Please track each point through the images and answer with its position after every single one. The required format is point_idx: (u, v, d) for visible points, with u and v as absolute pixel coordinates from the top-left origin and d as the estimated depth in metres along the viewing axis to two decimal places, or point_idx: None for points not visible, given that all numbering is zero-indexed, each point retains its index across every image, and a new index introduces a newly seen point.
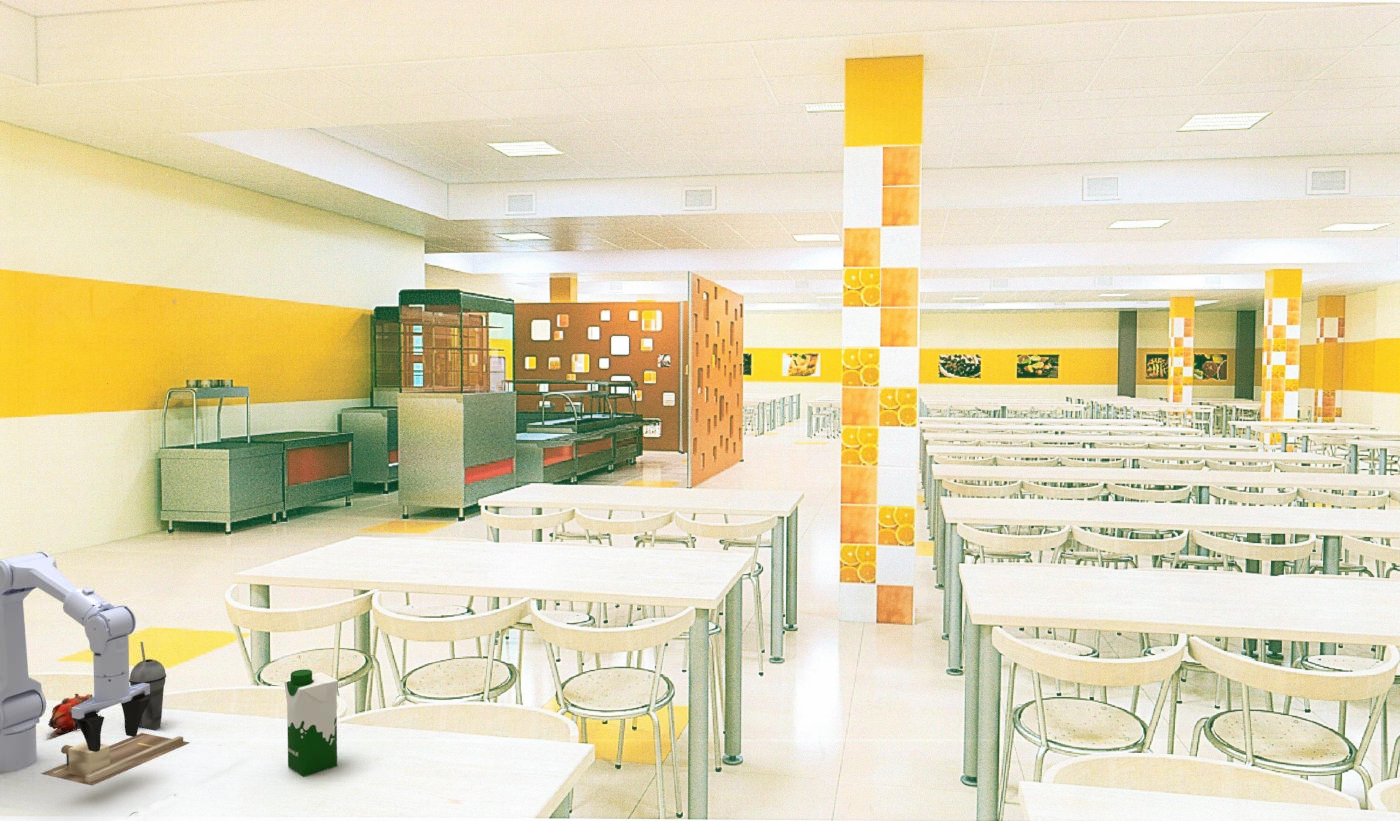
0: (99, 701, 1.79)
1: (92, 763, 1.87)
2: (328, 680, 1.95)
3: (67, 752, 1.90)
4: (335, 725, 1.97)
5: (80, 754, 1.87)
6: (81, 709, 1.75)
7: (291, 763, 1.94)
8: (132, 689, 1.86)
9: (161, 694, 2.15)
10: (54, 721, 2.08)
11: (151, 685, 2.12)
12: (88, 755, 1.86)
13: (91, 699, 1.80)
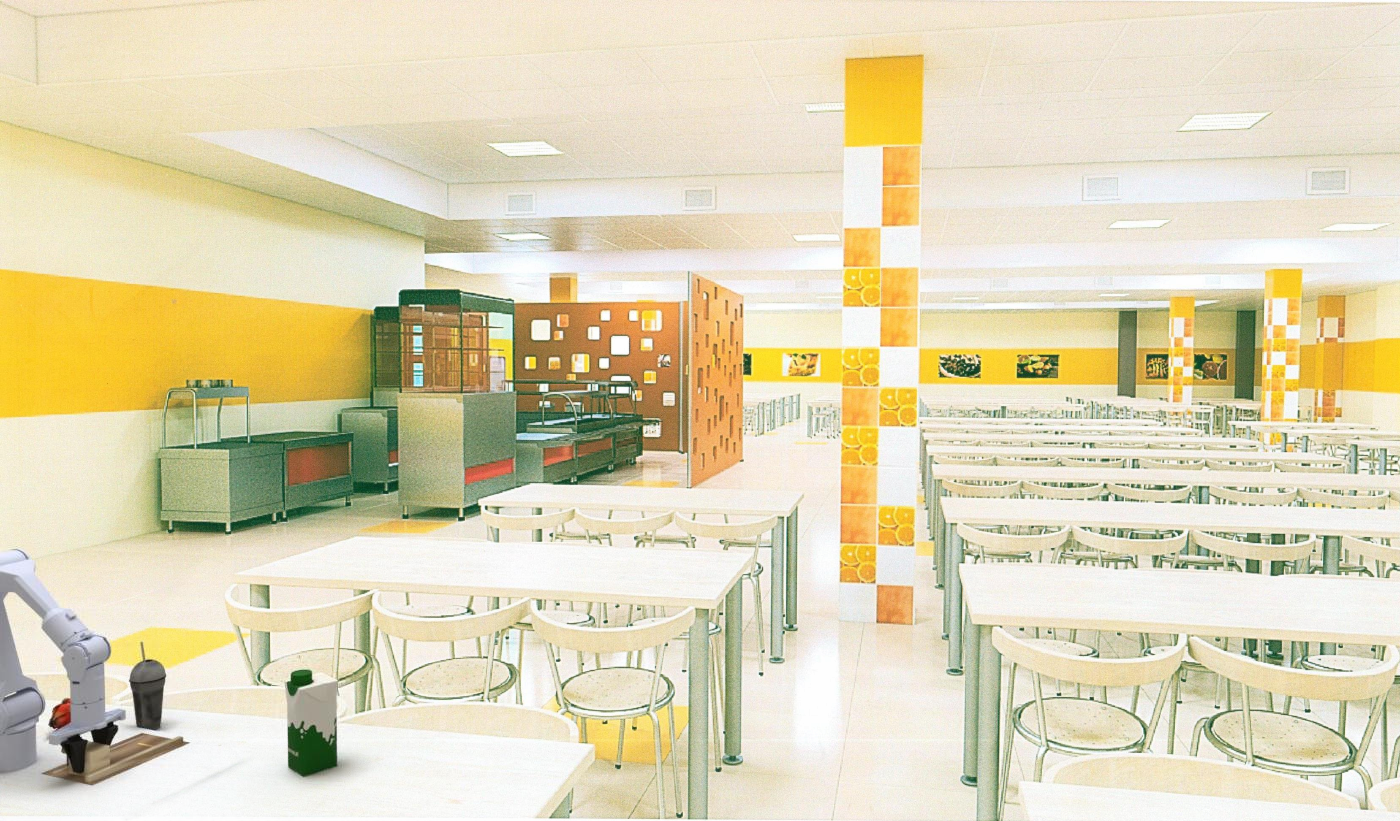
0: (75, 727, 1.86)
1: (92, 763, 1.87)
2: (328, 680, 1.95)
3: None
4: (335, 725, 1.97)
5: None
6: (58, 736, 1.82)
7: (291, 763, 1.94)
8: (108, 715, 1.93)
9: (161, 694, 2.15)
10: (54, 721, 2.08)
11: (151, 685, 2.12)
12: (88, 755, 1.86)
13: (68, 725, 1.87)
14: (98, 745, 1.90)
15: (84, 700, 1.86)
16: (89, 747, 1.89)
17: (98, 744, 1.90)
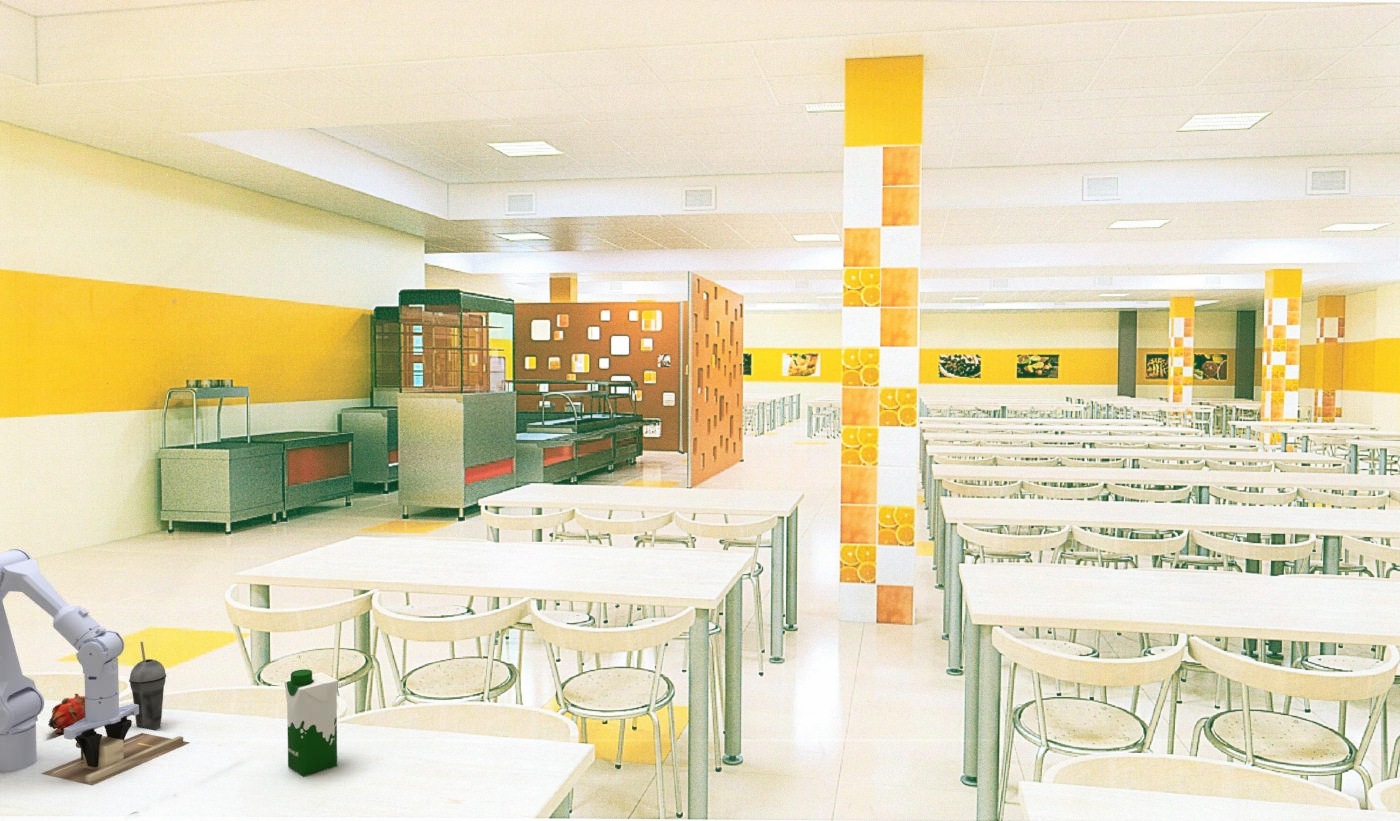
0: (90, 722, 1.89)
1: (106, 757, 1.89)
2: (328, 680, 1.95)
3: None
4: (335, 725, 1.97)
5: None
6: (73, 730, 1.85)
7: (291, 763, 1.94)
8: (122, 710, 1.95)
9: (161, 694, 2.15)
10: (54, 721, 2.08)
11: (151, 685, 2.12)
12: (103, 750, 1.89)
13: (82, 720, 1.90)
14: (112, 739, 1.92)
15: (101, 695, 1.89)
16: (103, 741, 1.91)
17: (112, 738, 1.93)
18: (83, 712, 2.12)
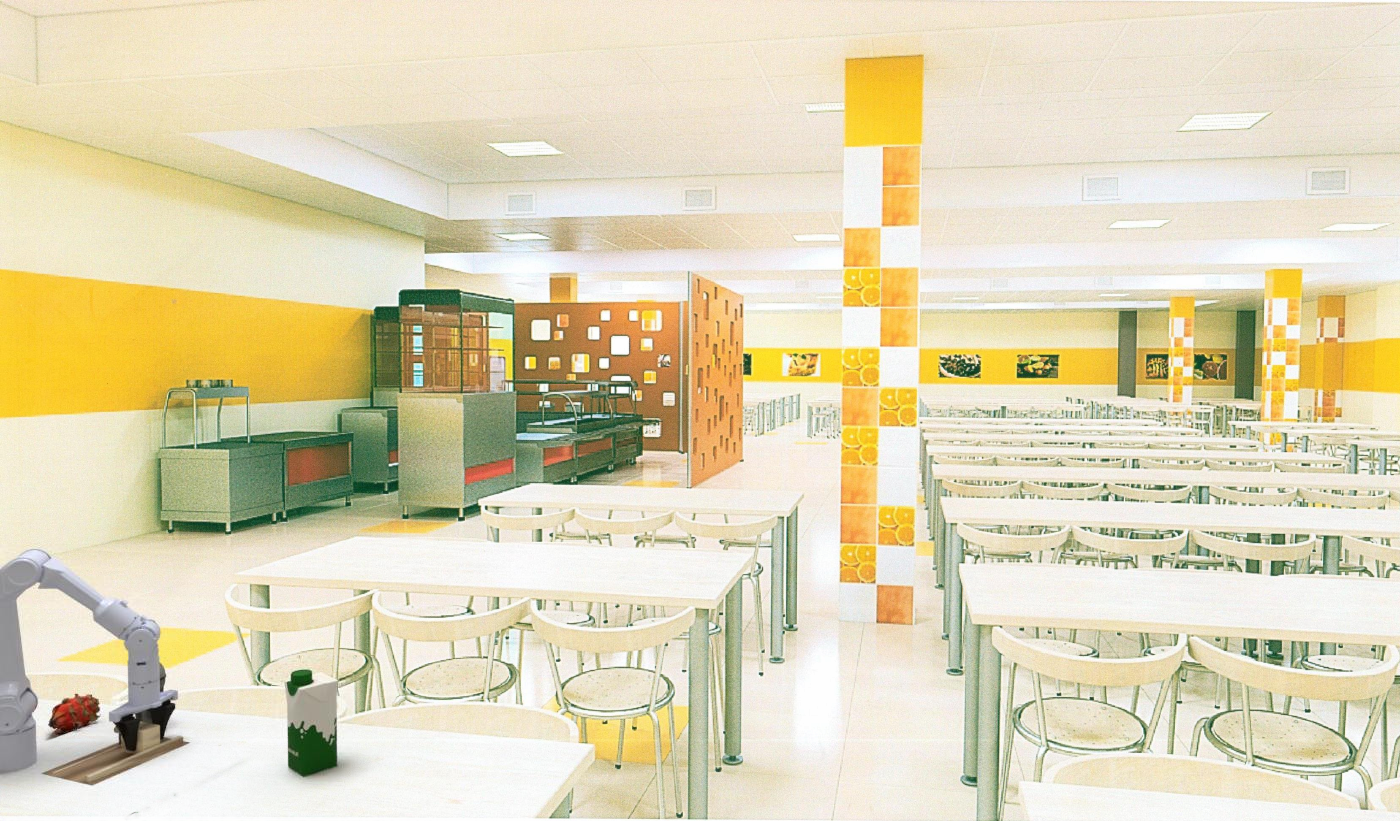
0: (133, 706, 1.97)
1: (144, 742, 1.97)
2: (328, 680, 1.95)
3: (119, 731, 2.01)
4: (335, 725, 1.97)
5: None
6: (117, 713, 1.93)
7: (291, 763, 1.94)
8: (162, 695, 2.04)
9: None
10: (54, 721, 2.08)
11: None
12: (141, 734, 1.97)
13: (125, 704, 1.98)
14: (148, 725, 2.00)
15: (150, 679, 1.98)
16: (140, 726, 1.99)
17: (149, 724, 2.01)
18: (83, 712, 2.12)
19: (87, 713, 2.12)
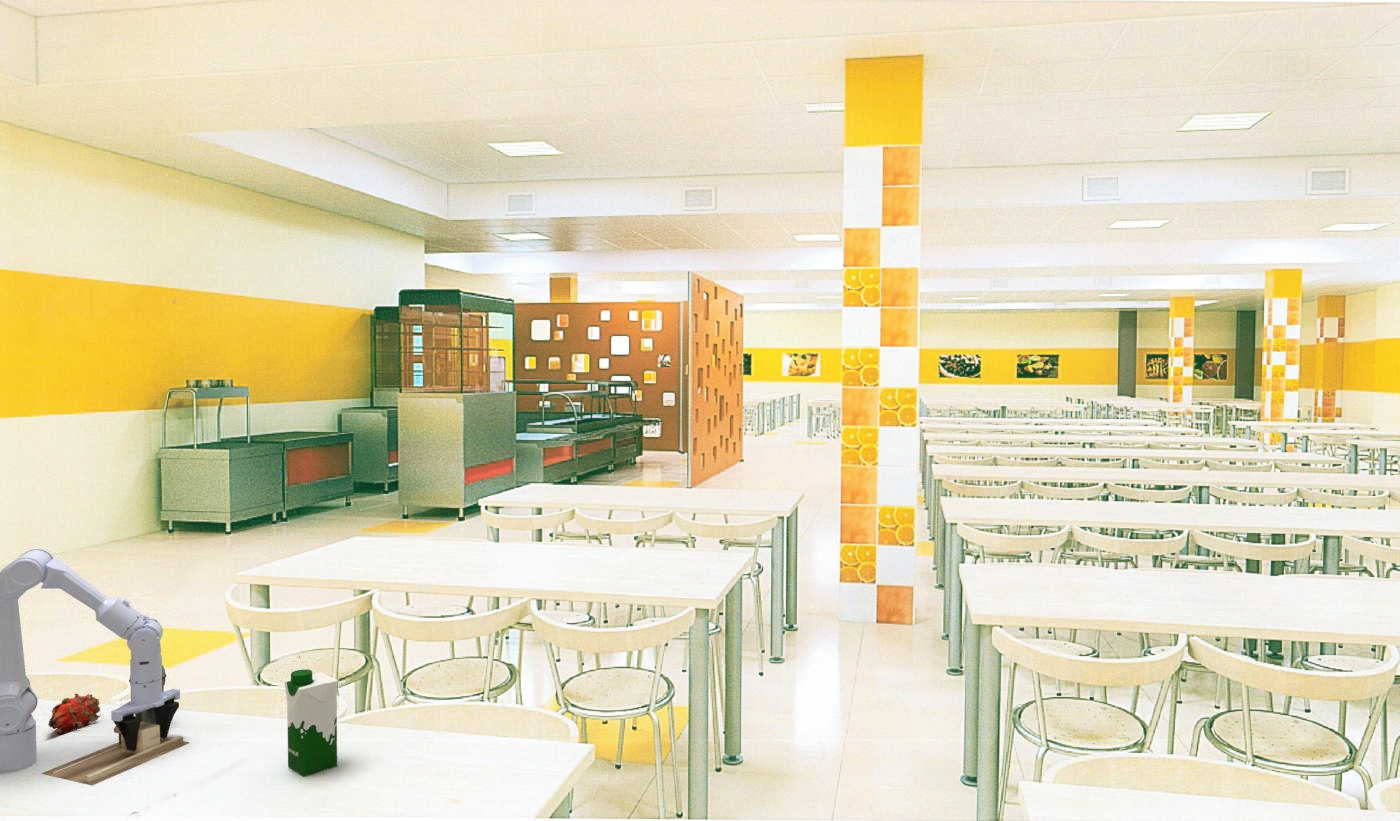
0: (135, 705, 1.98)
1: (144, 742, 1.97)
2: (328, 680, 1.95)
3: (119, 731, 2.01)
4: (335, 725, 1.97)
5: None
6: (120, 712, 1.94)
7: (291, 763, 1.94)
8: (164, 694, 2.04)
9: None
10: (54, 721, 2.08)
11: None
12: (140, 734, 1.97)
13: (128, 703, 1.99)
14: (148, 725, 2.00)
15: (152, 678, 1.99)
16: (140, 727, 1.99)
17: (149, 724, 2.01)
18: (83, 712, 2.12)
19: (87, 713, 2.12)
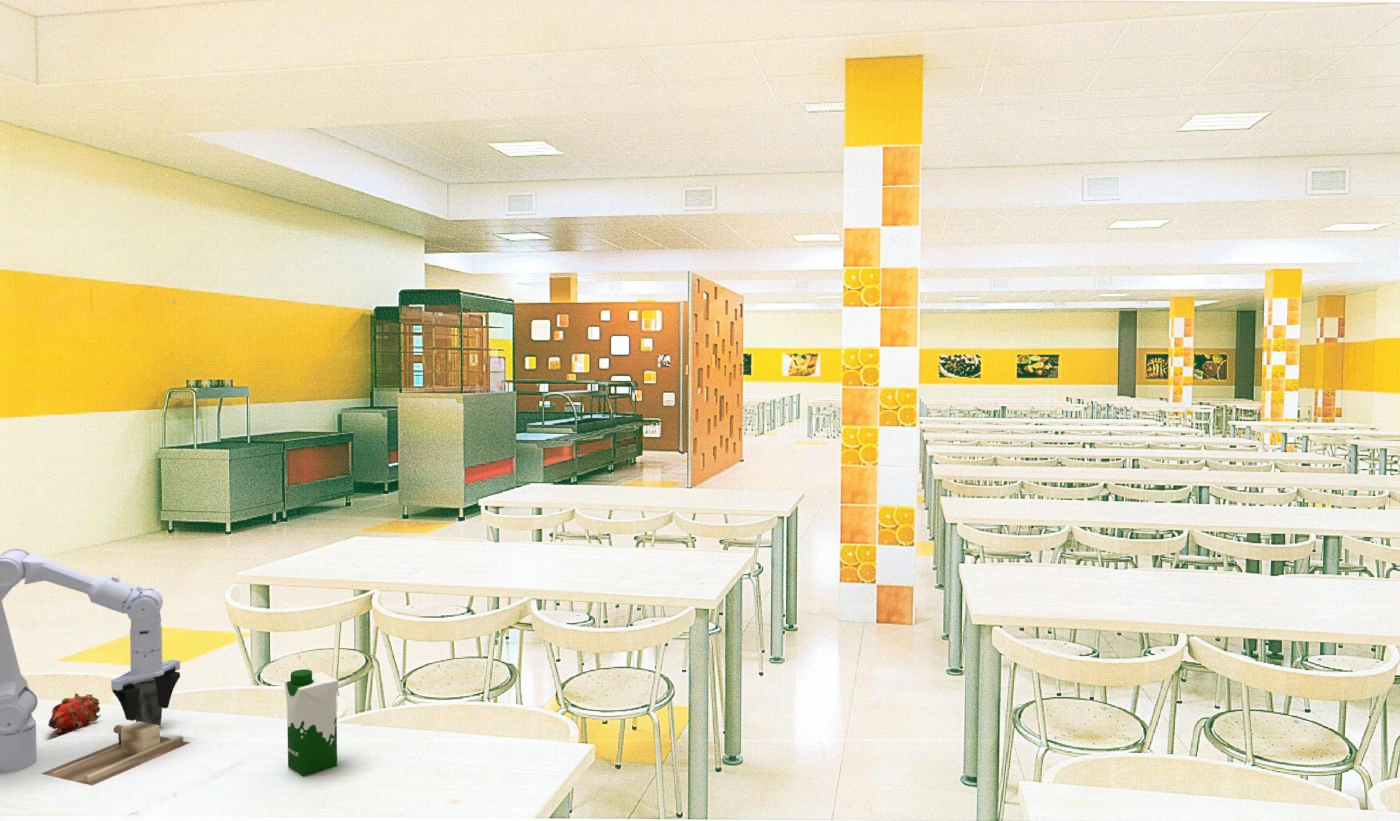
0: (135, 675, 1.98)
1: (144, 742, 1.97)
2: (328, 680, 1.95)
3: (119, 731, 2.01)
4: (335, 725, 1.97)
5: (133, 733, 1.98)
6: (120, 681, 1.94)
7: (291, 763, 1.94)
8: (164, 665, 2.04)
9: None
10: (54, 721, 2.08)
11: (151, 685, 2.12)
12: (140, 734, 1.97)
13: (128, 673, 1.99)
14: (148, 725, 2.00)
15: (152, 648, 1.99)
16: (140, 727, 1.99)
17: (149, 724, 2.01)
18: (83, 712, 2.12)
19: (87, 713, 2.12)
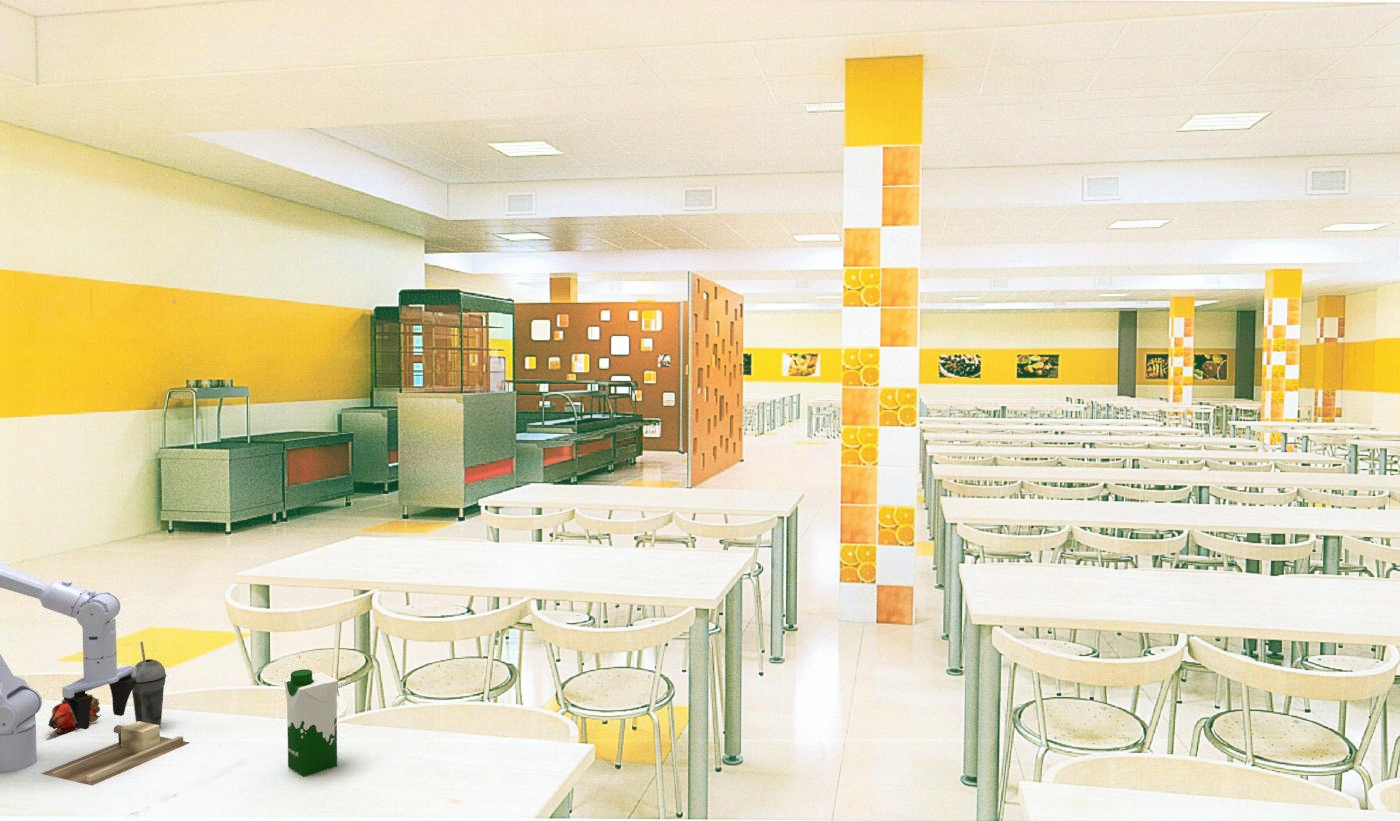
0: (88, 682, 1.91)
1: (144, 742, 1.97)
2: (328, 680, 1.95)
3: (119, 731, 2.01)
4: (335, 725, 1.97)
5: (133, 733, 1.98)
6: (71, 689, 1.87)
7: (291, 763, 1.94)
8: (119, 671, 1.98)
9: (161, 694, 2.15)
10: (54, 721, 2.08)
11: (151, 685, 2.12)
12: (140, 734, 1.97)
13: (81, 680, 1.92)
14: (148, 725, 2.00)
15: (102, 654, 1.92)
16: (140, 727, 1.99)
17: (149, 724, 2.01)
18: None
19: None
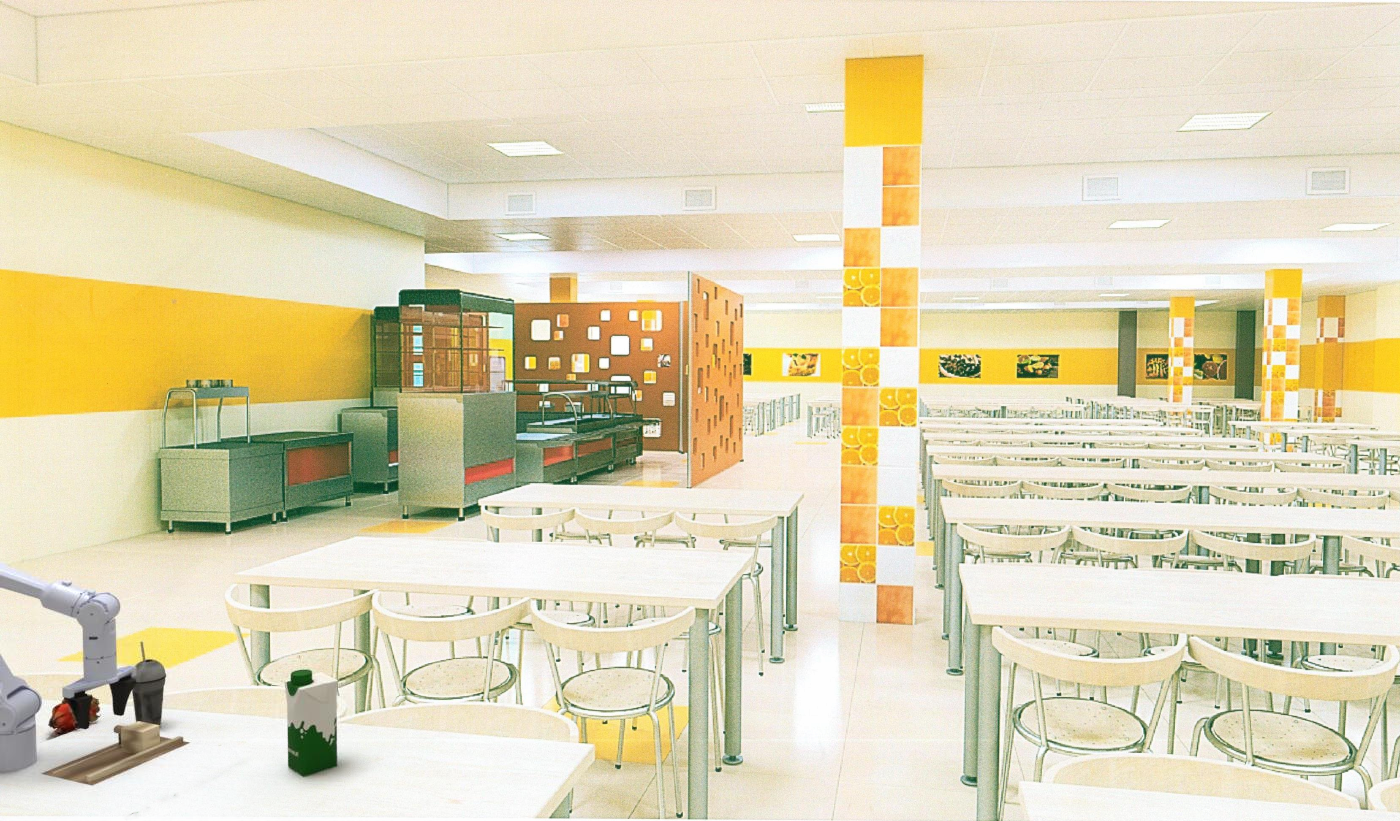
0: (88, 682, 1.91)
1: (144, 742, 1.97)
2: (328, 680, 1.95)
3: (119, 731, 2.01)
4: (335, 725, 1.97)
5: (133, 733, 1.98)
6: (71, 689, 1.87)
7: (291, 763, 1.94)
8: (119, 671, 1.98)
9: (161, 694, 2.15)
10: (54, 721, 2.08)
11: (151, 685, 2.12)
12: (140, 734, 1.97)
13: (81, 680, 1.92)
14: (148, 725, 2.00)
15: (102, 654, 1.92)
16: (140, 727, 1.99)
17: (149, 724, 2.01)
18: None
19: None
